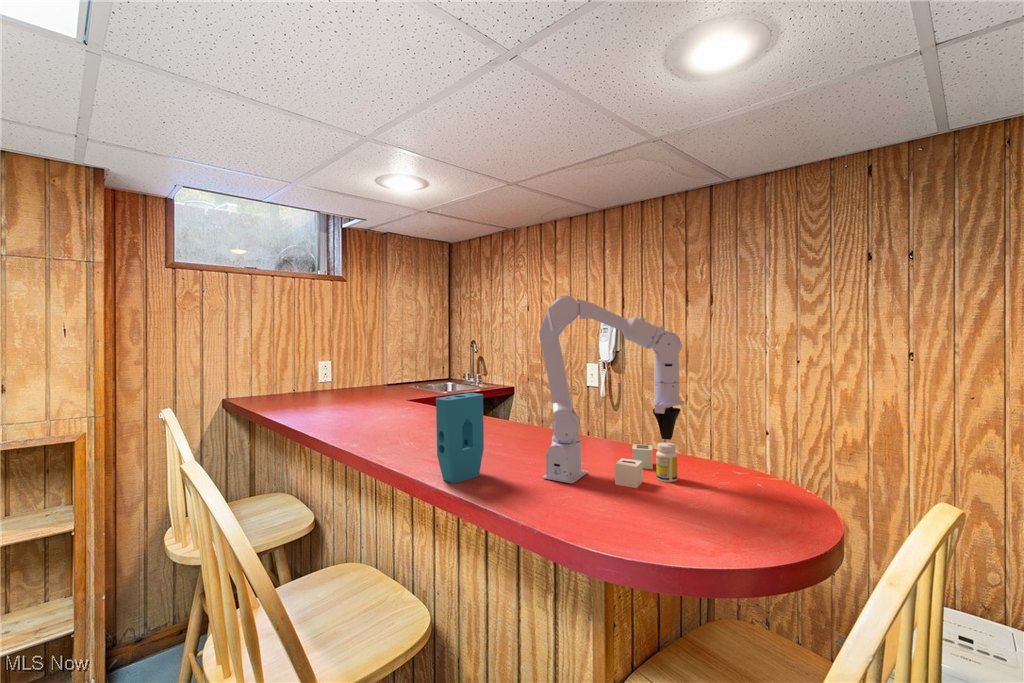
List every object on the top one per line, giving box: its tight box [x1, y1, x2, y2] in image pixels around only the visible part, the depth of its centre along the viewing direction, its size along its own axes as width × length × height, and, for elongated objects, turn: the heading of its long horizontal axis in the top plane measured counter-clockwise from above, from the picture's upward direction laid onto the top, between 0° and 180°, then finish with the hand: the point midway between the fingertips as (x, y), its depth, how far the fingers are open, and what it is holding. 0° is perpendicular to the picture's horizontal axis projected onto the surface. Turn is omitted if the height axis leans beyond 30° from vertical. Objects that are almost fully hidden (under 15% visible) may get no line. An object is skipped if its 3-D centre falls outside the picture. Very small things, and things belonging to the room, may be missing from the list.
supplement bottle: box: [655, 442, 678, 483], centre depth 110 cm, size 5×5×8 cm
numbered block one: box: [614, 457, 644, 489], centre depth 108 cm, size 5×5×5 cm
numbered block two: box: [631, 443, 654, 470], centre depth 121 cm, size 5×5×5 cm
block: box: [435, 392, 485, 484], centre depth 113 cm, size 12×5×20 cm, turn 138°
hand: (666, 438), depth 110 cm, fingers closed
